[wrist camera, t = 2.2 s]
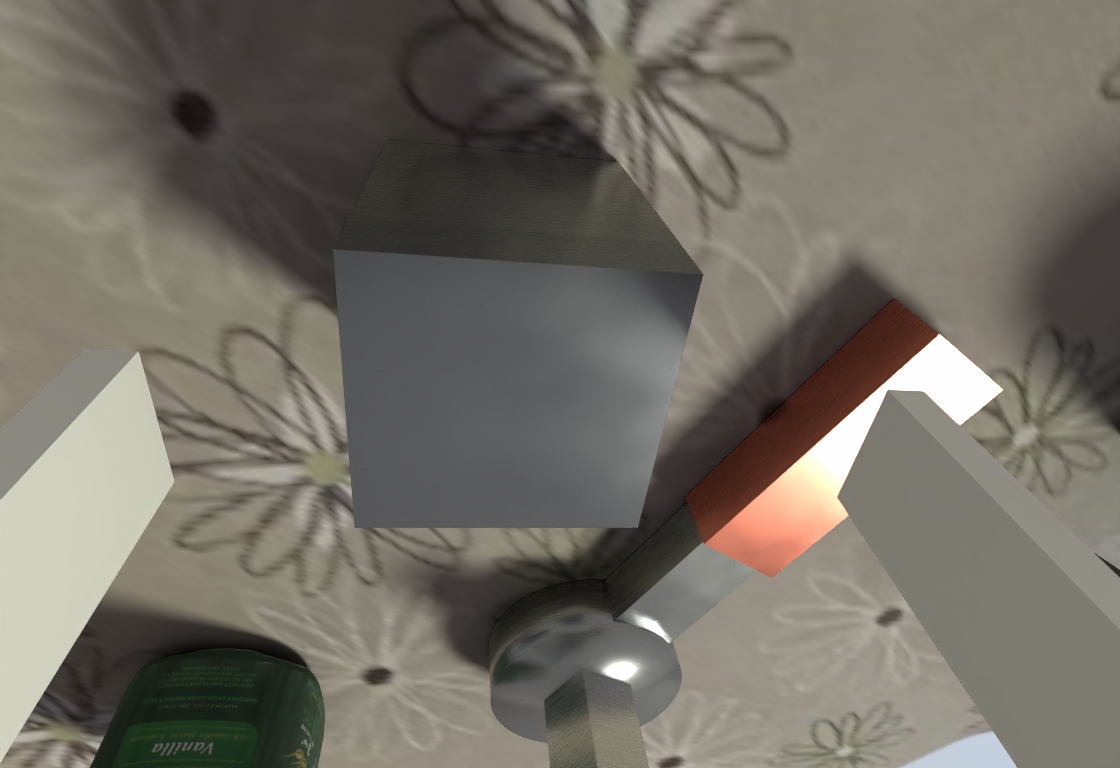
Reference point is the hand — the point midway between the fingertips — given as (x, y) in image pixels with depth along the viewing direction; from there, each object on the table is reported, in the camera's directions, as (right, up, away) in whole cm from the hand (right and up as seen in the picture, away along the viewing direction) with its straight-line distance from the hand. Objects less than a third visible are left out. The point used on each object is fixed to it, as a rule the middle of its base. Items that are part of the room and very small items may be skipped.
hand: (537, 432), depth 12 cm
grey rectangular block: (-1, +4, +6) cm, 8 cm away
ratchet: (+6, -5, +14) cm, 16 cm away
